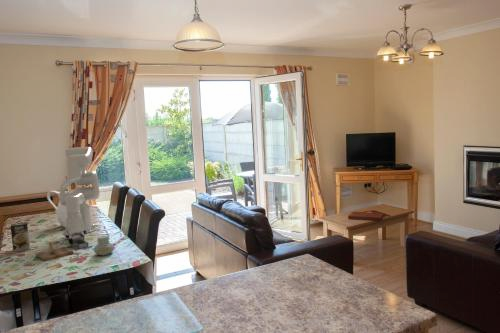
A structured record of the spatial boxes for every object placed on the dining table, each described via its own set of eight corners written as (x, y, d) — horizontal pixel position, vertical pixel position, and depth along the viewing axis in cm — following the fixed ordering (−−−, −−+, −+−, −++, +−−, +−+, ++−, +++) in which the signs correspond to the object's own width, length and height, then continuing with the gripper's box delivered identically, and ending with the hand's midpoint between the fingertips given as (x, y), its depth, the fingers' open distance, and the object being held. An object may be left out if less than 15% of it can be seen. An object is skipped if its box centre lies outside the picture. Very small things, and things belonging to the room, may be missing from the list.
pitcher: (86, 222, 304) (82, 187, 301) (74, 228, 287) (70, 191, 284) (57, 223, 306) (53, 188, 303) (44, 229, 289) (40, 192, 286)
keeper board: (64, 248, 237) (63, 235, 236) (73, 253, 227) (71, 239, 226) (36, 256, 226) (34, 241, 226) (43, 261, 216) (41, 246, 215)
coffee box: (13, 252, 237) (9, 226, 235) (13, 249, 243) (10, 224, 241) (30, 249, 241) (27, 223, 239) (30, 246, 247) (27, 221, 245)
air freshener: (93, 257, 218) (91, 240, 217) (95, 253, 226) (93, 236, 225) (114, 254, 221) (112, 237, 220) (114, 250, 229) (113, 233, 228)
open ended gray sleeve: (88, 246, 239) (87, 238, 239) (77, 249, 235) (76, 241, 234) (80, 242, 249) (79, 234, 249) (69, 244, 245) (68, 237, 244)
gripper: (85, 211, 251) (88, 238, 253) (57, 217, 239) (60, 245, 241) (89, 213, 246) (92, 240, 248) (61, 218, 234) (64, 247, 236)
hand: (76, 242), depth 245 cm, fingers closed on open ended gray sleeve, 6 cm apart
